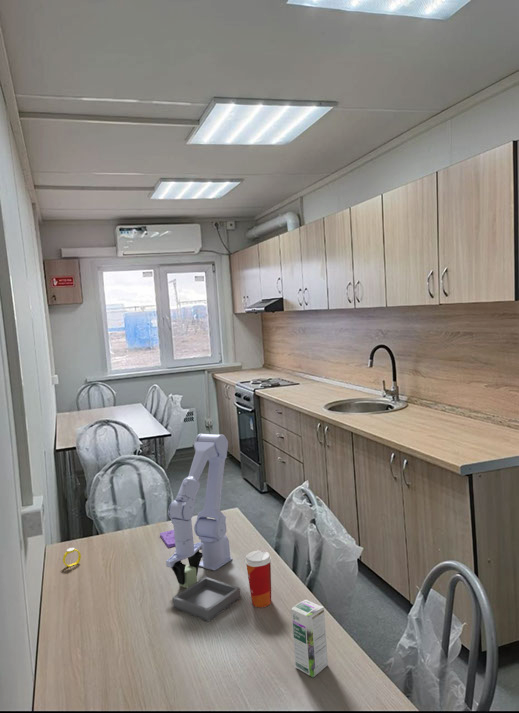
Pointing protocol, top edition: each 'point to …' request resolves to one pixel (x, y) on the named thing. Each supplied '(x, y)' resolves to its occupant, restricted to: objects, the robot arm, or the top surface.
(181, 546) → the robot arm
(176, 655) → the top surface
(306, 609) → the syrup box
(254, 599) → the pill bottle
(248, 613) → the top surface
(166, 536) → the sponges
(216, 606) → the tray
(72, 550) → the gold ring
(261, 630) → the top surface
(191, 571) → the green block
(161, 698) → the top surface
